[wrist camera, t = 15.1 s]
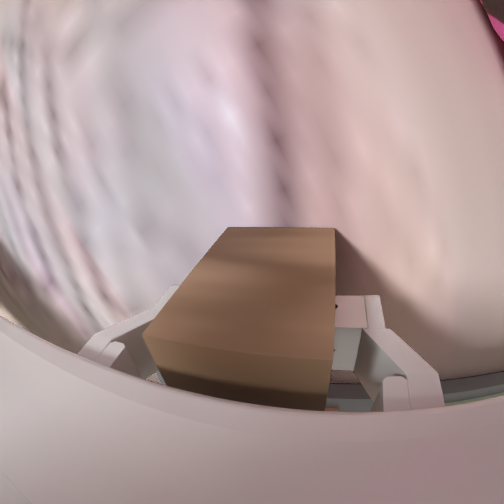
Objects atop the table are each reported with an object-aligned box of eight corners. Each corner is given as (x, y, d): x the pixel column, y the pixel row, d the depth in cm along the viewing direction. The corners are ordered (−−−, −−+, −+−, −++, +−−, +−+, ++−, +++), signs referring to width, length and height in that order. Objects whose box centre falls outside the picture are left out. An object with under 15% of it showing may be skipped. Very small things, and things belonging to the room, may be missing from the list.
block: (240, 309, 13) (188, 422, 7) (227, 227, 11) (141, 334, 6) (330, 315, 11) (317, 444, 6) (334, 228, 10) (333, 359, 5)
